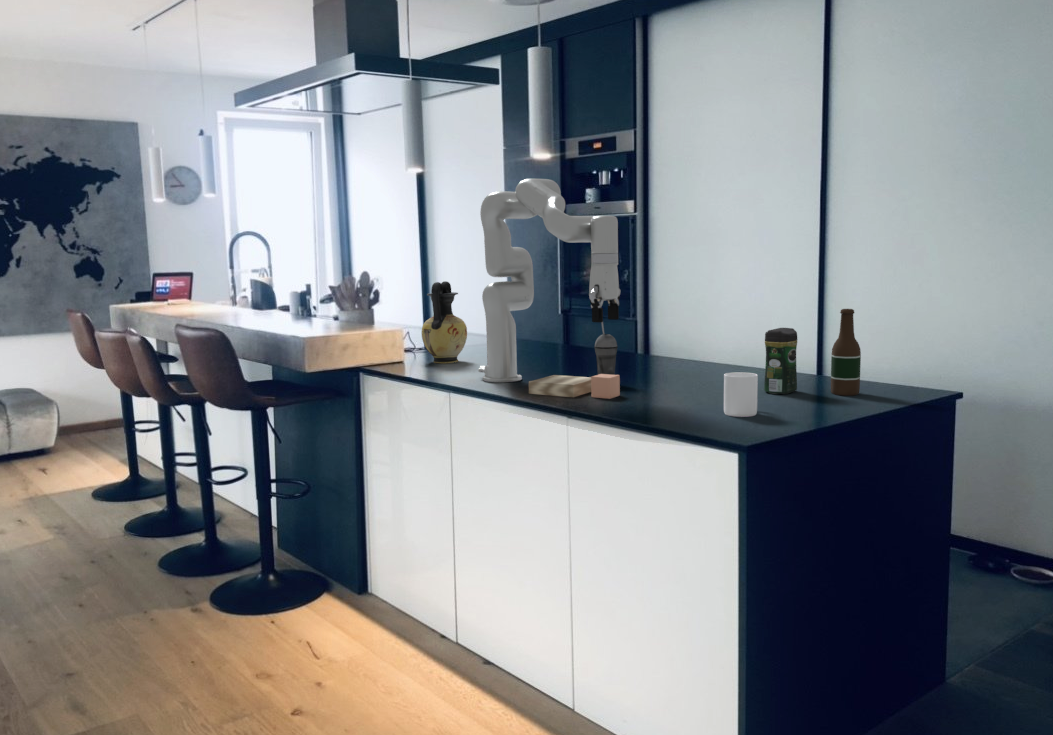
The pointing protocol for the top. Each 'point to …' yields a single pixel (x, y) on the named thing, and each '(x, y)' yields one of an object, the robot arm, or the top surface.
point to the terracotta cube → (605, 386)
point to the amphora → (443, 326)
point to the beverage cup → (606, 353)
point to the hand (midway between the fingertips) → (605, 320)
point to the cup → (740, 394)
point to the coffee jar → (780, 361)
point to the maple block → (561, 386)
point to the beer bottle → (846, 358)
